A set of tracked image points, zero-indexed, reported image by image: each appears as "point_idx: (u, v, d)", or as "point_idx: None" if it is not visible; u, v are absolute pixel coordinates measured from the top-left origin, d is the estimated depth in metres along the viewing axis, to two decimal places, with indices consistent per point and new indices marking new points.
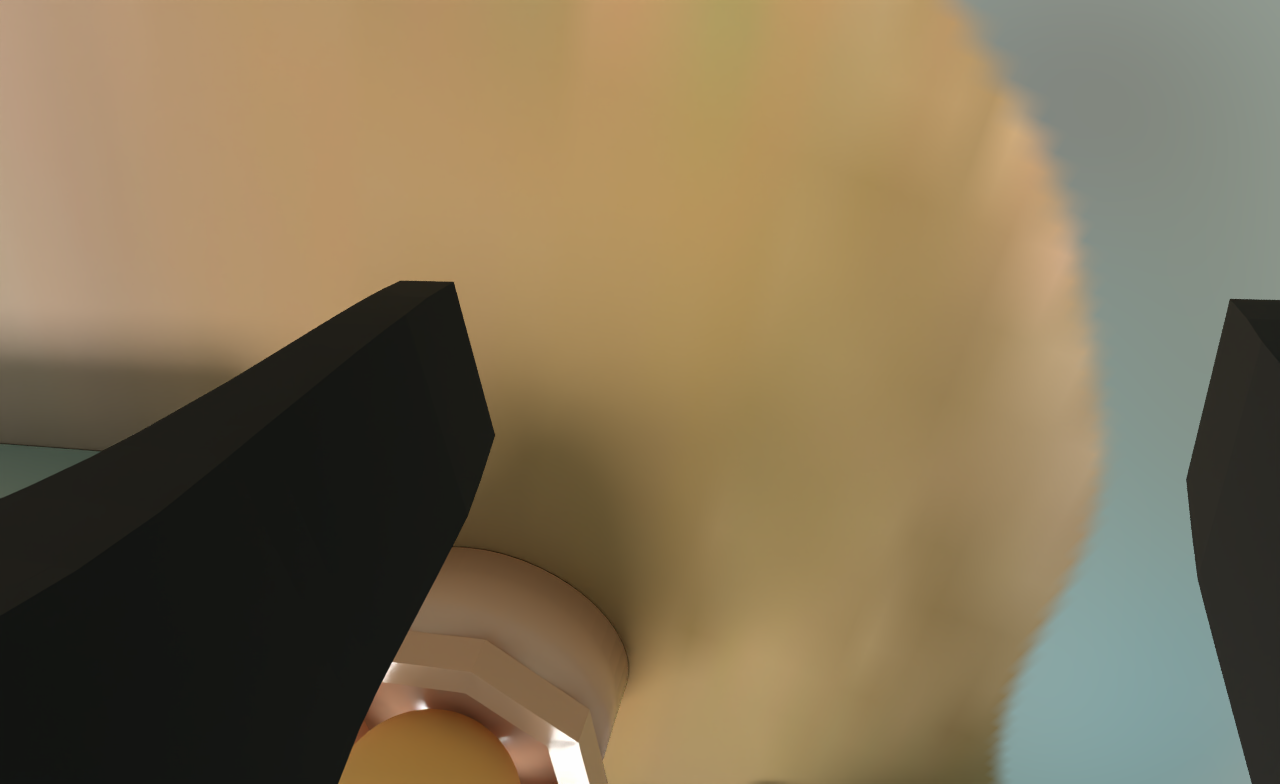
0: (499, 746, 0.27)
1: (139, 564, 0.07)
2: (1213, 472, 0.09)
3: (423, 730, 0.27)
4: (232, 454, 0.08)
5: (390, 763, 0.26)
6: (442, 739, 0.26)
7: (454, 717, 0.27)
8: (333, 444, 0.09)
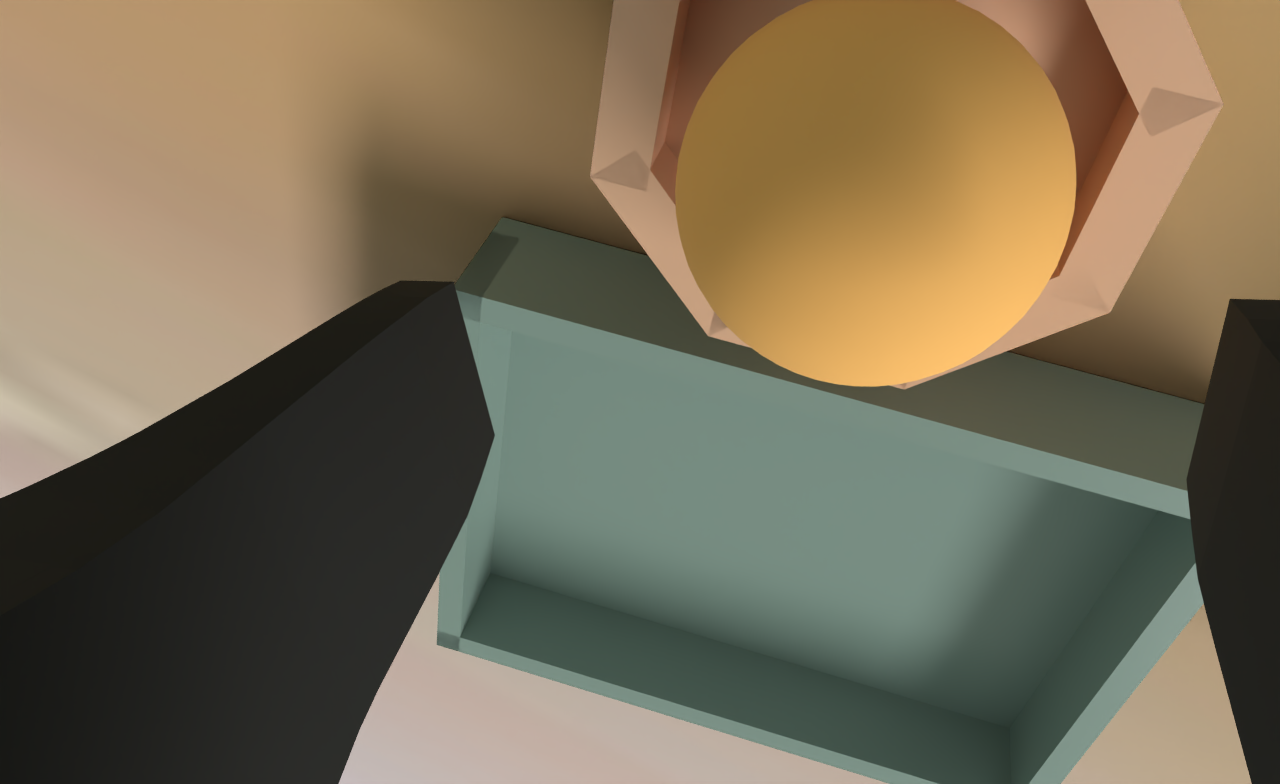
0: None
1: (139, 564, 0.07)
2: (1213, 472, 0.09)
3: None
4: (232, 454, 0.08)
5: (677, 166, 0.14)
6: None
7: None
8: (333, 444, 0.09)
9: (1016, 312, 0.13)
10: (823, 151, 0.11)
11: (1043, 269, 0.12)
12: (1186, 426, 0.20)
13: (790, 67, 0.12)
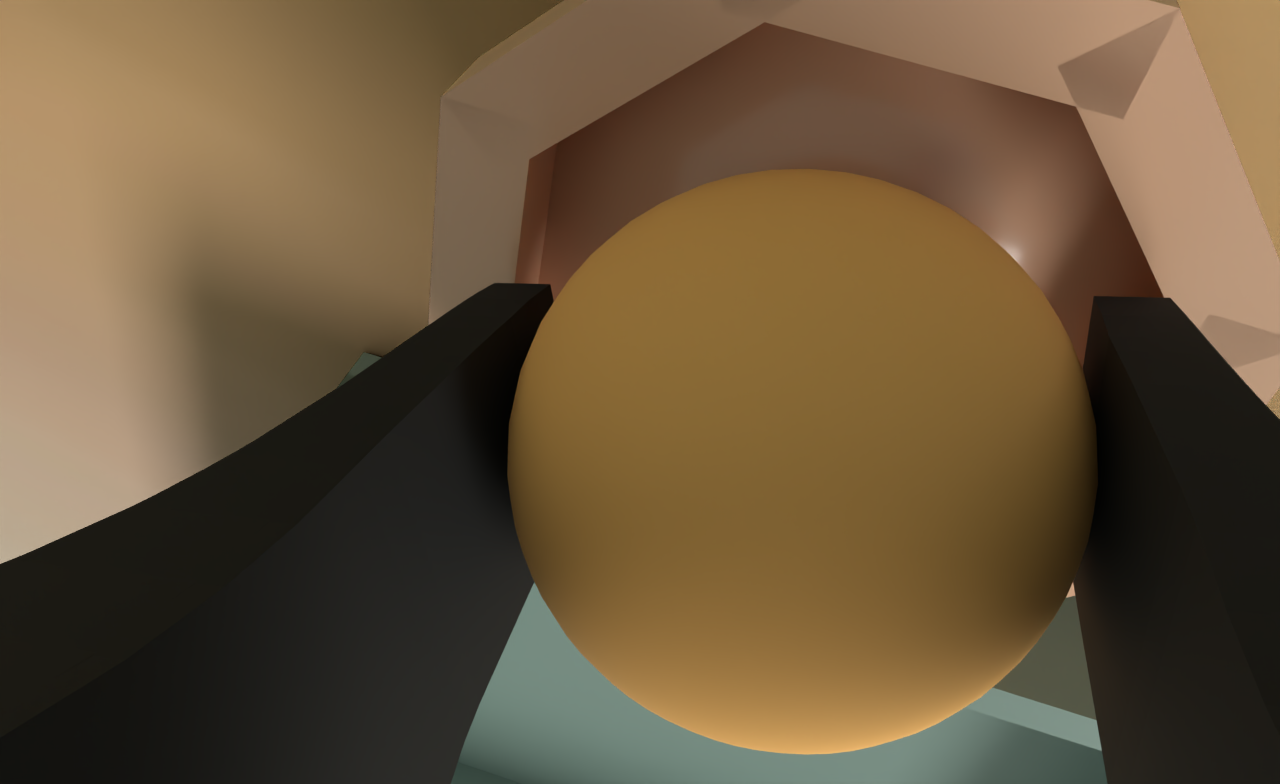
0: None
1: (278, 579, 0.07)
2: None
3: None
4: (358, 463, 0.07)
5: None
6: None
7: None
8: (445, 452, 0.09)
9: (1003, 677, 0.08)
10: (699, 474, 0.07)
11: (1046, 622, 0.08)
12: None
13: (655, 319, 0.08)
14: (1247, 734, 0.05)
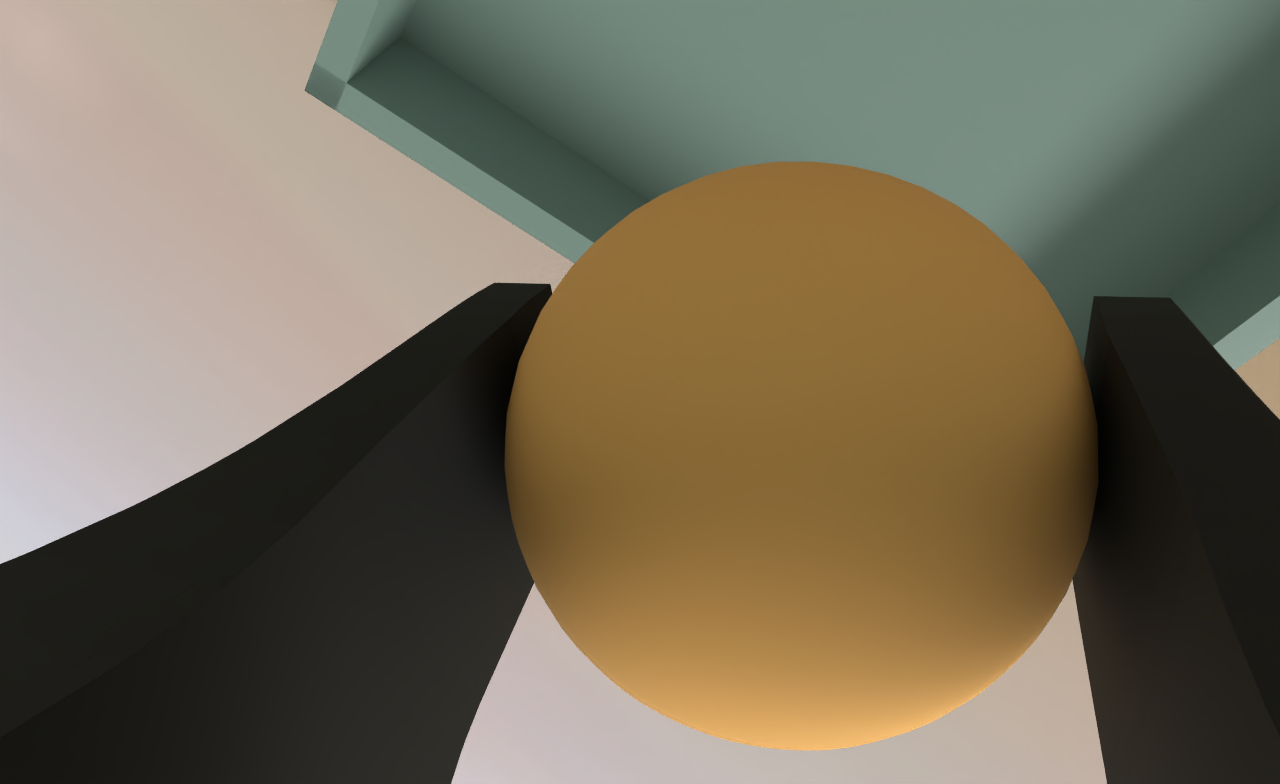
0: None
1: (278, 579, 0.07)
2: None
3: None
4: (358, 463, 0.07)
5: None
6: None
7: None
8: (445, 452, 0.09)
9: (1000, 675, 0.08)
10: (700, 467, 0.07)
11: (1044, 621, 0.08)
12: None
13: (659, 310, 0.07)
14: (1244, 734, 0.05)
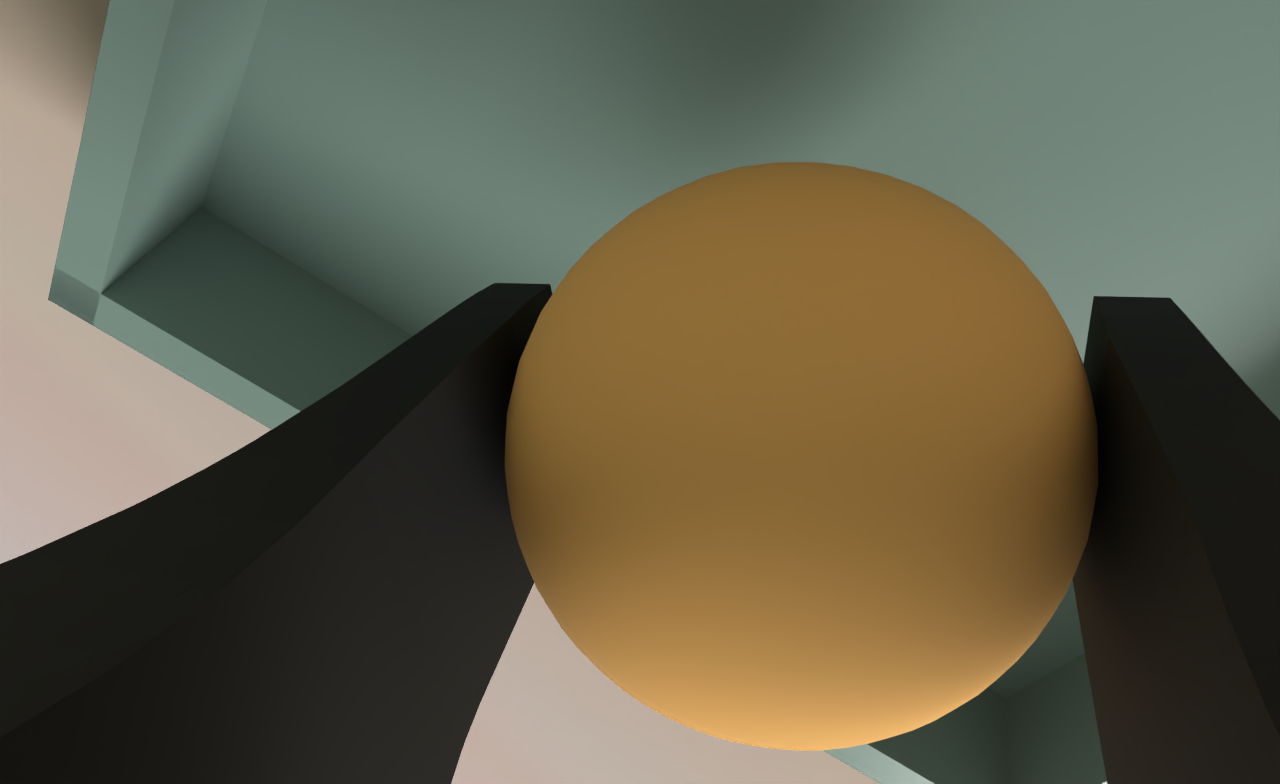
0: None
1: (278, 579, 0.07)
2: None
3: None
4: (358, 463, 0.07)
5: None
6: None
7: None
8: (445, 452, 0.09)
9: None
10: (700, 465, 0.07)
11: (1044, 621, 0.08)
12: None
13: (658, 310, 0.07)
14: (1247, 734, 0.05)
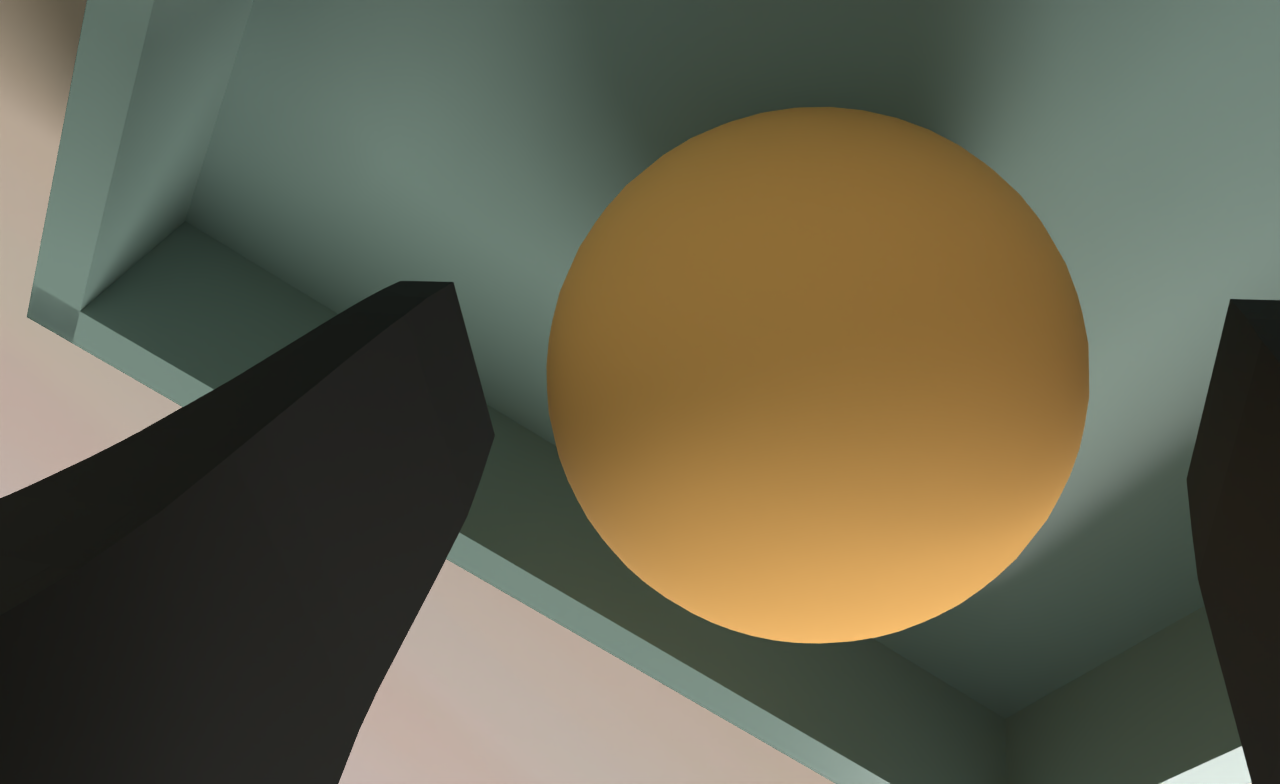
0: None
1: (139, 564, 0.07)
2: (1213, 472, 0.09)
3: None
4: (232, 454, 0.08)
5: None
6: None
7: None
8: (333, 444, 0.09)
9: (1000, 571, 0.09)
10: (733, 367, 0.08)
11: (1040, 518, 0.09)
12: None
13: (693, 233, 0.08)
14: None
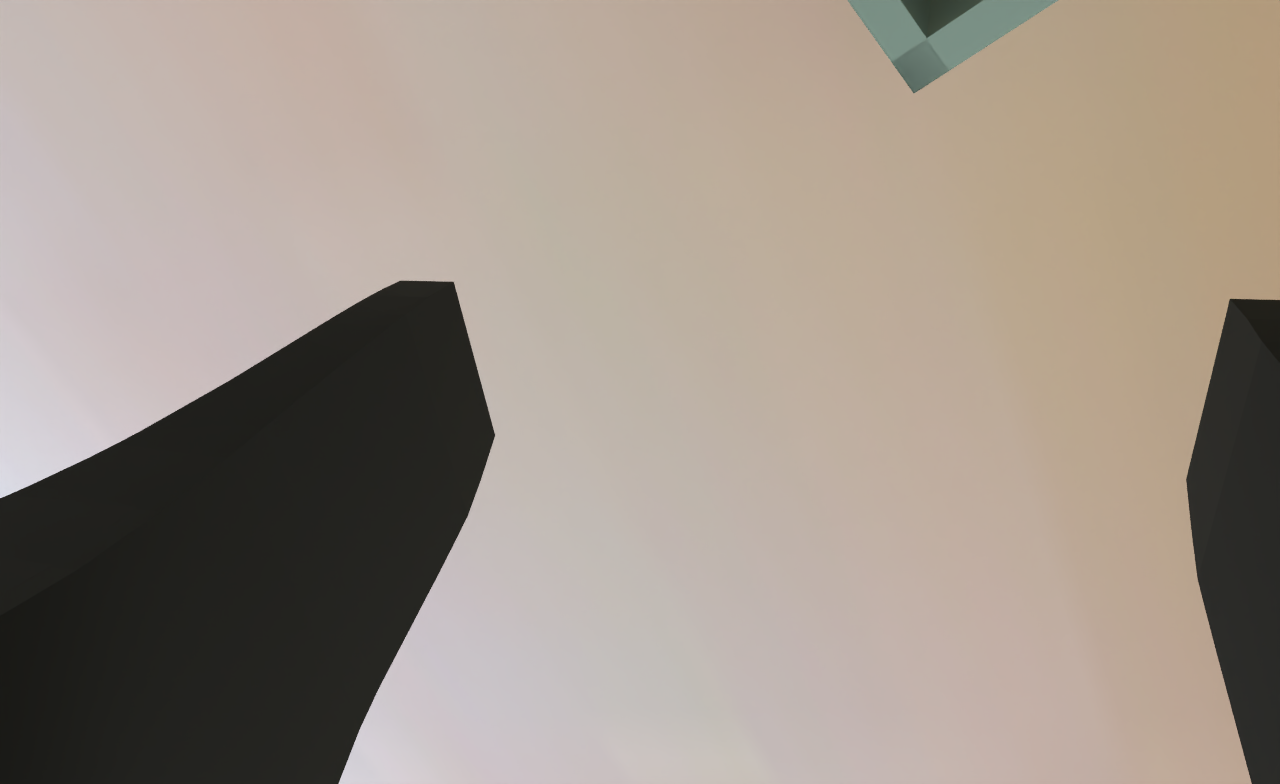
0: None
1: (139, 564, 0.07)
2: (1213, 472, 0.09)
3: None
4: (232, 454, 0.08)
5: None
6: None
7: None
8: (333, 444, 0.09)
9: None
10: None
11: None
12: None
13: None
14: None
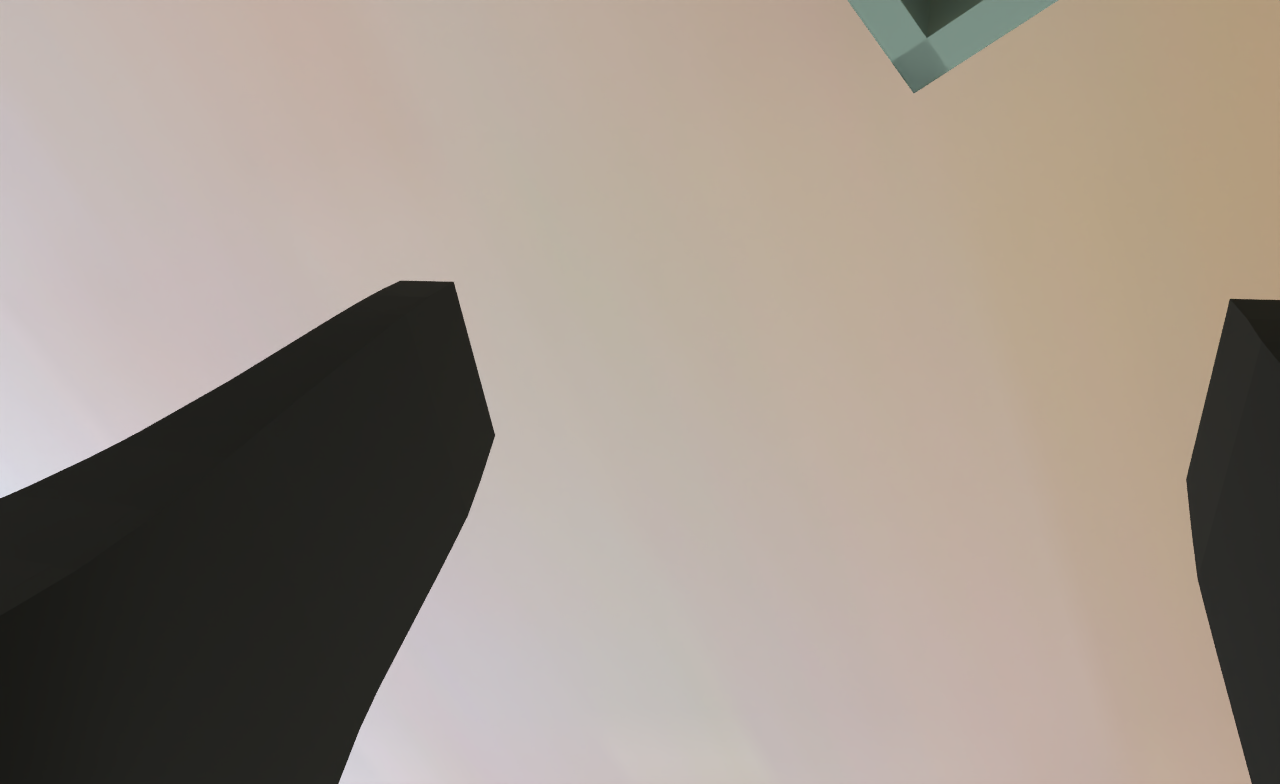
0: None
1: (139, 564, 0.07)
2: (1213, 472, 0.09)
3: None
4: (232, 454, 0.08)
5: None
6: None
7: None
8: (333, 444, 0.09)
9: None
10: None
11: None
12: None
13: None
14: None
